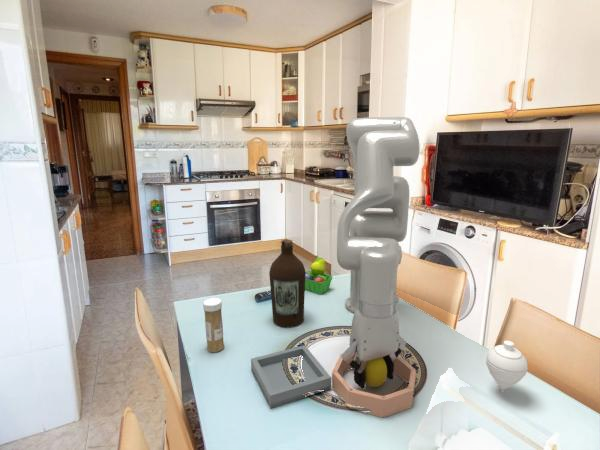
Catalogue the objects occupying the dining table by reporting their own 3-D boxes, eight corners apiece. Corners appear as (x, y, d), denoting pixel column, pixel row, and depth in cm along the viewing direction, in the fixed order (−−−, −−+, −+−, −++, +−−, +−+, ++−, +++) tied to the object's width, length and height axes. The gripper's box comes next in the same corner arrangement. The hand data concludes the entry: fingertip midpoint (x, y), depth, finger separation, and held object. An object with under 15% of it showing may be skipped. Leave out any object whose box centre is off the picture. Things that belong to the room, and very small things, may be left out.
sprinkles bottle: (224, 351, 95) (221, 303, 91) (206, 354, 94) (202, 305, 90) (224, 342, 99) (221, 296, 96) (206, 344, 98) (203, 298, 95)
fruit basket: (295, 288, 134) (295, 259, 131) (310, 281, 140) (310, 253, 138) (320, 296, 127) (321, 266, 124) (335, 288, 133) (335, 259, 131)
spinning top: (529, 407, 74) (537, 354, 71) (488, 403, 75) (495, 351, 72) (514, 382, 81) (521, 334, 78) (477, 379, 83) (483, 331, 80)
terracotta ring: (382, 356, 91) (382, 342, 90) (431, 399, 76) (432, 383, 75) (321, 374, 85) (321, 359, 84) (361, 425, 70) (362, 407, 69)
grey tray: (304, 355, 92) (304, 345, 92) (331, 389, 80) (331, 377, 79) (251, 369, 87) (250, 358, 86) (270, 408, 74) (270, 395, 74)
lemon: (386, 396, 77) (388, 363, 76) (360, 393, 78) (361, 360, 77) (386, 380, 83) (387, 348, 81) (361, 377, 84) (362, 346, 82)
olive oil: (273, 311, 116) (271, 235, 110) (306, 312, 115) (306, 236, 109) (268, 328, 106) (265, 246, 100) (304, 329, 105) (304, 246, 99)
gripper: (398, 291, 83) (395, 361, 87) (331, 306, 76) (330, 381, 80) (422, 305, 76) (416, 380, 80) (350, 322, 69) (348, 403, 74)
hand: (373, 379), depth 80 cm, fingers open, 6 cm apart
